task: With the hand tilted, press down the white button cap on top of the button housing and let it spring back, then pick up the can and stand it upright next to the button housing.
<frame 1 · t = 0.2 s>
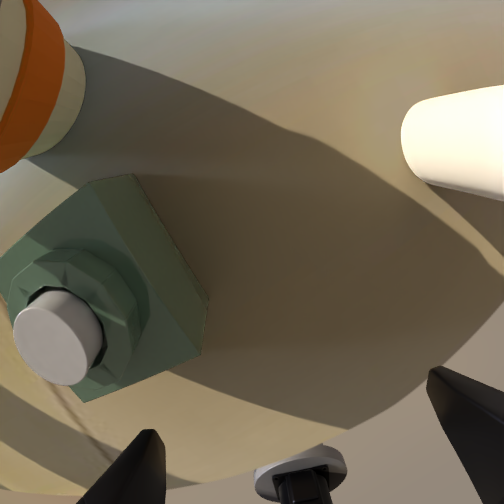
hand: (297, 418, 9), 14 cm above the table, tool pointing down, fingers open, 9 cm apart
button housing: (119, 268, 21), on the table
reusable coffee cup: (36, 97, 18), on the table
can: (432, 142, 20), on the table
white button cap: (57, 338, 12), point 10 cm above the table, slide at 0.1 cm
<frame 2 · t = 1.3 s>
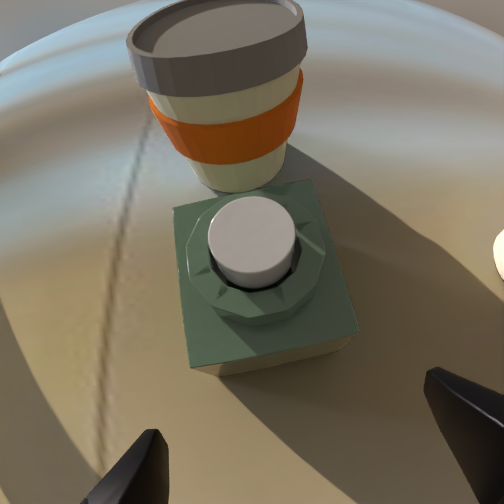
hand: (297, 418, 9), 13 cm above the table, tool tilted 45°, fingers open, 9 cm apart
button housing: (263, 300, 24), on the table
reusable coffee cup: (238, 157, 31), on the table
white button cap: (253, 242, 16), point 10 cm above the table, slide at 0.1 cm
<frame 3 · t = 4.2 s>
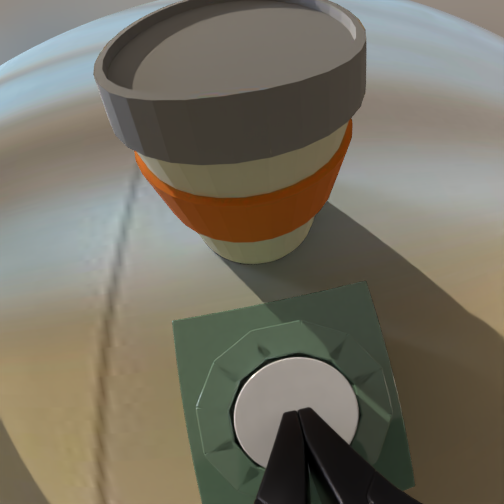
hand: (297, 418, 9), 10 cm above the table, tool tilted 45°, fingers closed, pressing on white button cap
button housing: (289, 410, 18), on the table
reusable coffee cup: (254, 212, 25), on the table
white button cap: (295, 416, 10), point 9 cm above the table, slide at -0.5 cm, touching gripper
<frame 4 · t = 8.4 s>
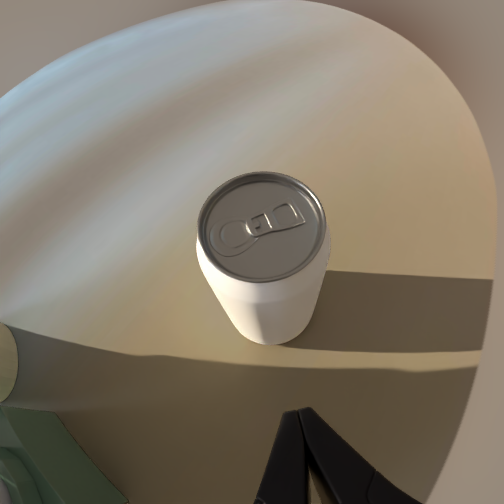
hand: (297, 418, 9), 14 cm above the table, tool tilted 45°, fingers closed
button housing: (62, 482, 18), on the table
can: (271, 305, 25), on the table
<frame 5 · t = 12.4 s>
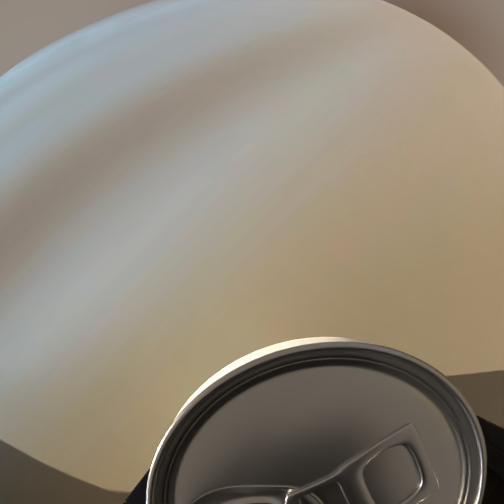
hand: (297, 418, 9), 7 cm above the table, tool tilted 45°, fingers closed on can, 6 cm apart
can: (296, 436, 14), on the table, touching gripper
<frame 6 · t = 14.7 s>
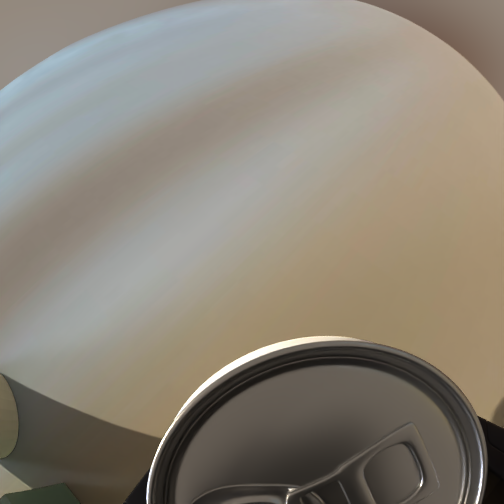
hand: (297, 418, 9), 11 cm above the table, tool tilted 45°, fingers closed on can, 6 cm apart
can: (296, 436, 14), point 4 cm above the table, touching gripper
when the fingers open (7 cm above the table, at t = 17.5 s): can stays where it is, on the table.
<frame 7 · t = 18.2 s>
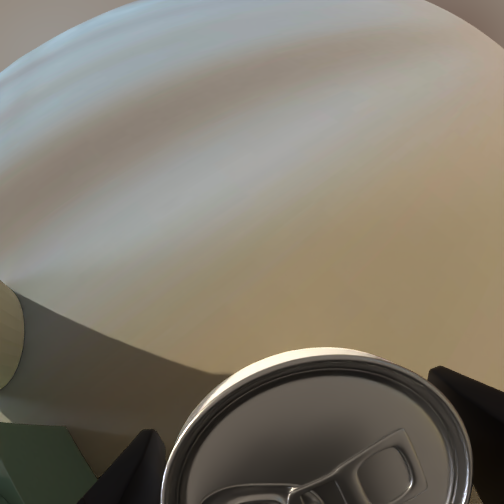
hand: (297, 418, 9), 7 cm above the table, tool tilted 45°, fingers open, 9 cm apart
can: (296, 437, 15), on the table
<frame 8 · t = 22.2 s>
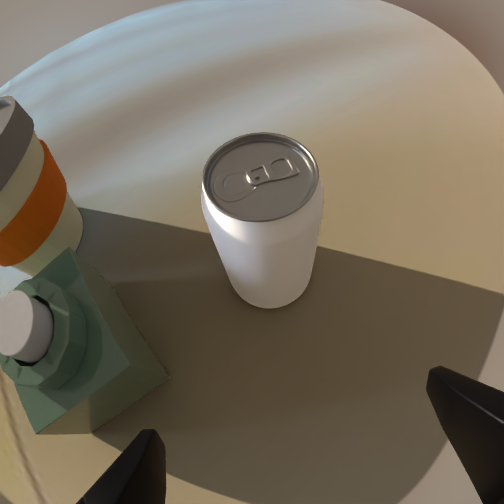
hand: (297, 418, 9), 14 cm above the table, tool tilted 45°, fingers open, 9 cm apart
button housing: (97, 357, 24), on the table
reusable coffee cup: (51, 240, 30), on the table
can: (270, 272, 26), on the table
white button cap: (21, 327, 15), point 10 cm above the table, slide at 0.1 cm
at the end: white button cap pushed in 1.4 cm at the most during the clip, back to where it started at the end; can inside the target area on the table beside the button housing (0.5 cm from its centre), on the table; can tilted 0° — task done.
